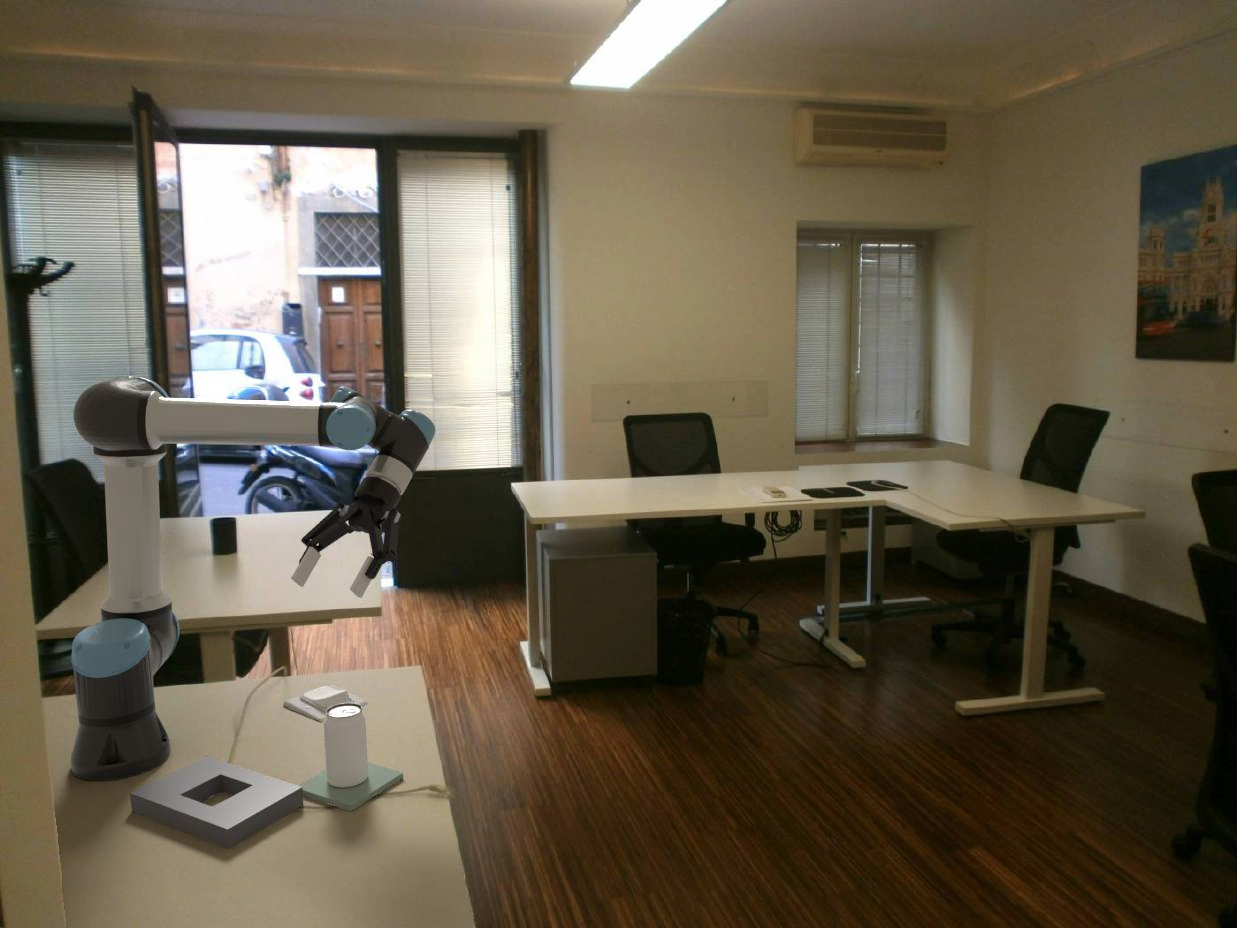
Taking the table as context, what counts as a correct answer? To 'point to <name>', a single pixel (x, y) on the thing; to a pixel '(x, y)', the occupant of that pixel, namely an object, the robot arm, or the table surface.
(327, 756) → the can
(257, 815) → the block
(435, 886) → the table surface
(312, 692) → the light switch
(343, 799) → the mat
